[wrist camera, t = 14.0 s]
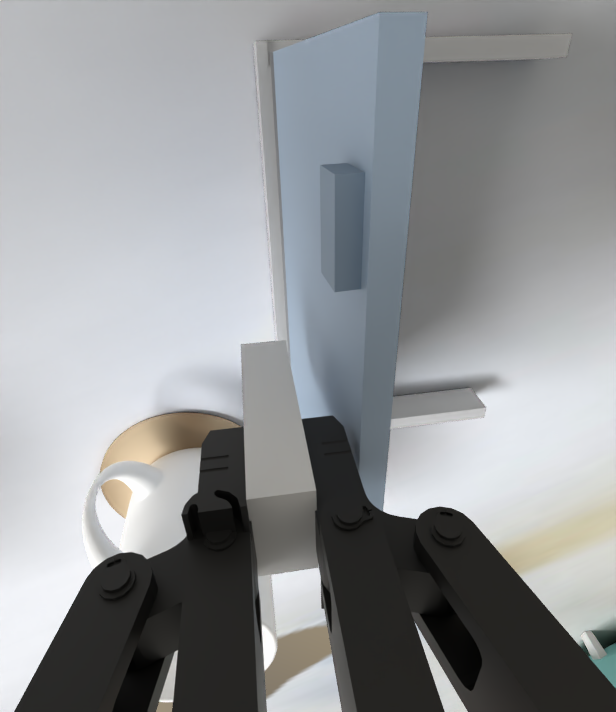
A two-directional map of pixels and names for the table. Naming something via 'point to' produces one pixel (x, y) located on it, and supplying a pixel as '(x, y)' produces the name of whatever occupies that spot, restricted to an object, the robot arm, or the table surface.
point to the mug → (161, 527)
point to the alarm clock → (601, 656)
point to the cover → (348, 219)
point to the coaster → (155, 446)
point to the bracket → (436, 49)
